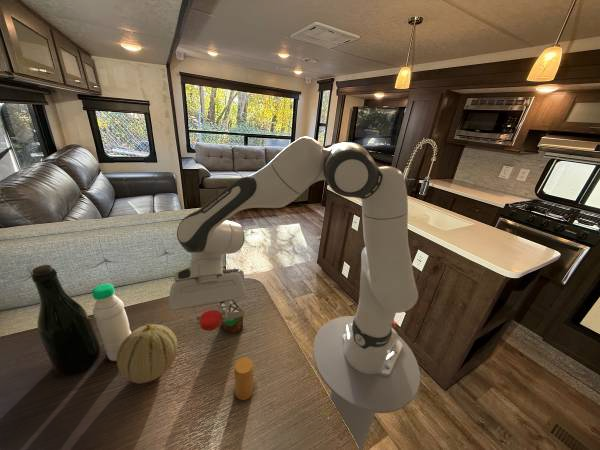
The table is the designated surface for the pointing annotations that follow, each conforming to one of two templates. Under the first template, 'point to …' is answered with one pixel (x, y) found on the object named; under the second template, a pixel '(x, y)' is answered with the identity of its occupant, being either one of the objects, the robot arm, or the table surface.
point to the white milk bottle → (110, 319)
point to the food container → (232, 317)
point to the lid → (211, 320)
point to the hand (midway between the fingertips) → (211, 321)
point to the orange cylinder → (243, 378)
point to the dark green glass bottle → (63, 325)
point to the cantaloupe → (147, 353)
